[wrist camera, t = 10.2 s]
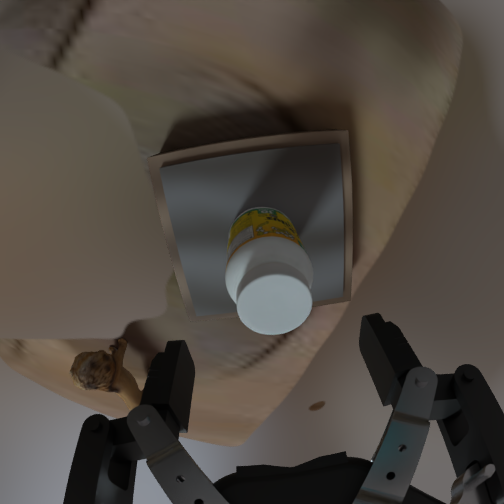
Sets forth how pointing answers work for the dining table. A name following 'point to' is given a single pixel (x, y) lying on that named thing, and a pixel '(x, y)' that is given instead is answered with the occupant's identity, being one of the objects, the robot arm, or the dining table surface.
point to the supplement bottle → (268, 271)
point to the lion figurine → (106, 374)
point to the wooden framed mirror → (250, 196)
